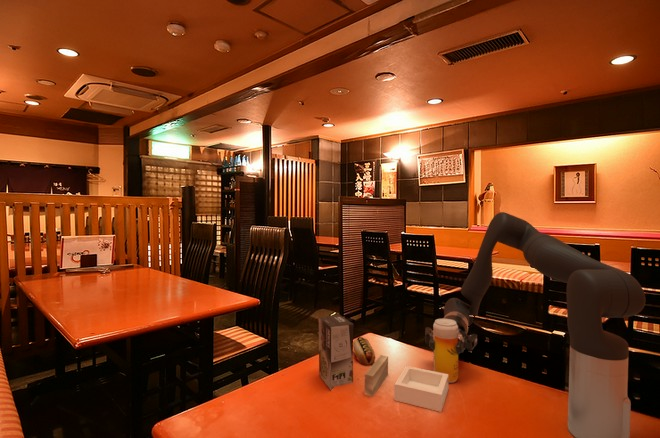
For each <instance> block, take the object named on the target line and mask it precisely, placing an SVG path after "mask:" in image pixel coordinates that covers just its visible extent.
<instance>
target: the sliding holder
mask: <svg viewBox="0 0 660 438" xmlns="http://www.w3.org/2000/svg"><path fill="white" fill-rule="evenodd" d="M448 378H449V374H444V373H440V372H435V371H434V370H429V369H423V368H419V367H414V366H410V365H405V367H404V369H402V372H401V373H400V375H399V376H398V377H397V379H396V381H395V383H394V396H393V397H394V399H393V400H394V401H396V402H401V403H404V404H408V405H411V406H416V407H420V408H424V409H427V410H431V411H436V412H440V413H442V411H443V407H444V405H445V401H446V399H447V395H448V392H449V383H448Z"/></svg>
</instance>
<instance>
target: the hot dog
mask: <svg viewBox="0 0 660 438" xmlns="http://www.w3.org/2000/svg"><path fill="white" fill-rule="evenodd" d="M353 352H354V354H355V357H356V359H357V360H358V361H359V363H360V364H362V365H363V366H372V365H373V364H374V363H375V362H376V353H375V351H374V349H373V346H372V345H371V343H370V342H369V340H368V339H367V338H364V337H363V336H359V337H357V338H356V339H354V340H353Z"/></svg>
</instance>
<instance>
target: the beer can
mask: <svg viewBox="0 0 660 438" xmlns="http://www.w3.org/2000/svg"><path fill="white" fill-rule="evenodd" d="M432 327H433V328H432V329H433V340H434V350H432V351H433V371H435V372H440V373H444V374H449V378H448V384H454V383H456V382H457V380H458V379H459V354H457V353H456V352H457V343H458V326H457V324H456V321H454V320H451V319H443V318H437V319H435V320H434V322H433V325H432Z"/></svg>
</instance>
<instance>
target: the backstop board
mask: <svg viewBox="0 0 660 438" xmlns="http://www.w3.org/2000/svg"><path fill="white" fill-rule="evenodd" d="M388 376H389V356H386V355H379V357H378V358H377V359H375V361H374V364H373V365H370V368H369V369H367V371H366V373H364V395H365V396H368V397H372V398H373V397H374V396H375V394H376V393H377V391H379V390H380V389H379V388H380V387H381V386H382V385H383V383H384V381H385V380H386V379H387V377H388Z"/></svg>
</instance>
